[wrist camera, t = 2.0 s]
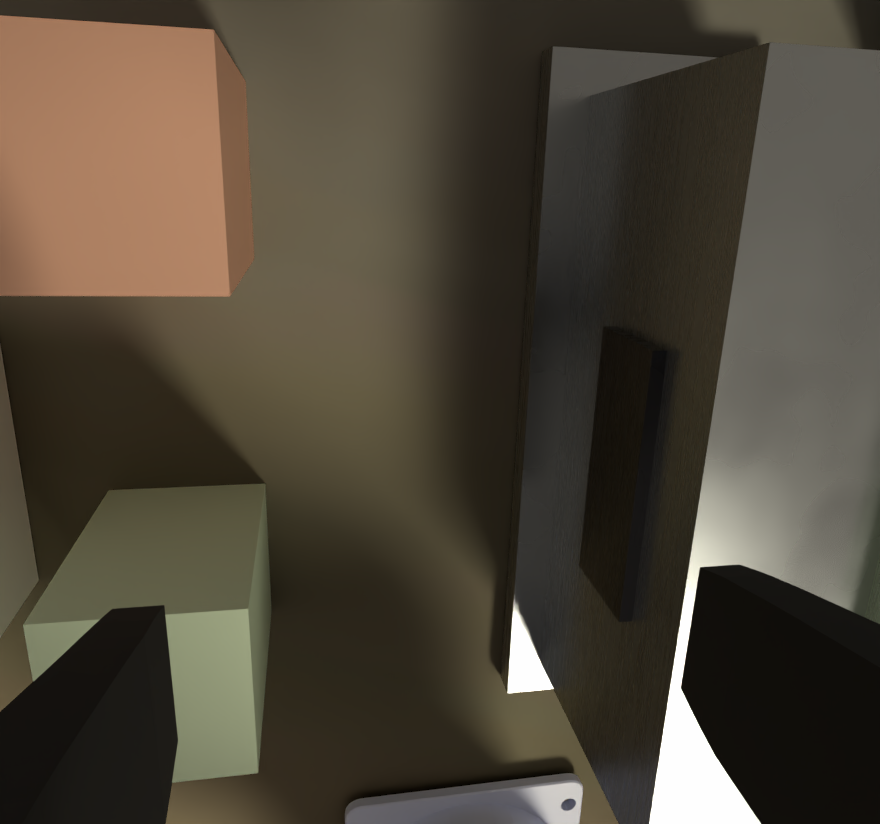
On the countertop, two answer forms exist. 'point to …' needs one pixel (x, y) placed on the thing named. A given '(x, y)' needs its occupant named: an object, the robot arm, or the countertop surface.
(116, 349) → the countertop surface
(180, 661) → the sage green block
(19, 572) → the off-white tray
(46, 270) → the terracotta block
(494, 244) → the countertop surface
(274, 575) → the countertop surface
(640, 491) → the grey unit
